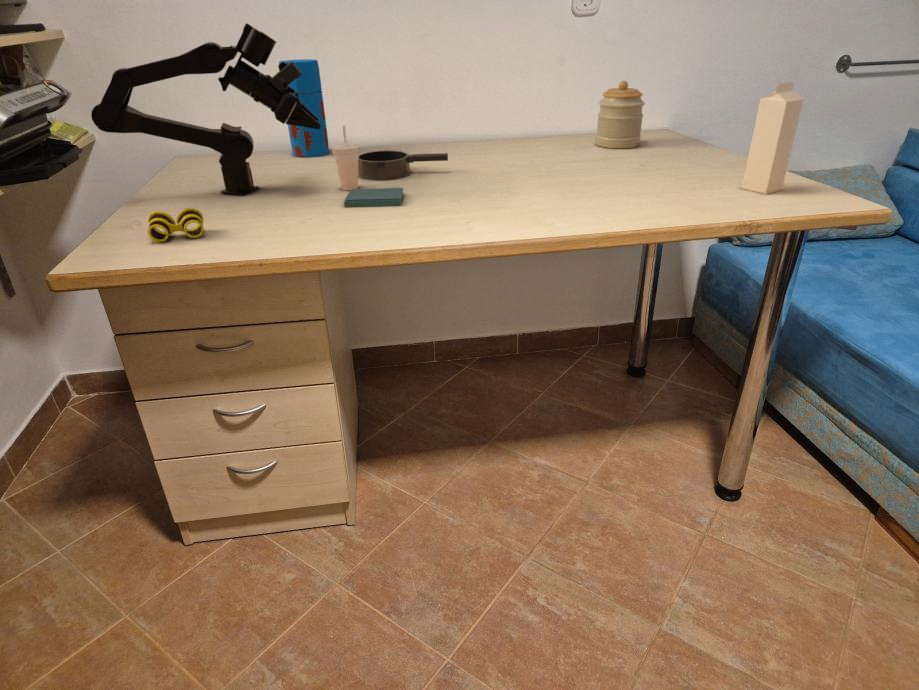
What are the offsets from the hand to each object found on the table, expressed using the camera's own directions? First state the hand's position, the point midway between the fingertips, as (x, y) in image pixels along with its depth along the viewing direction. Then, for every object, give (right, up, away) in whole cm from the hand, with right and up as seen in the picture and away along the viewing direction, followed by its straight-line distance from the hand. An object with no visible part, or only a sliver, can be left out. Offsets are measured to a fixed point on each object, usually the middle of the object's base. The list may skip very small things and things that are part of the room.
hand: (318, 124), depth 140 cm
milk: (+101, -17, -6) cm, 102 cm away
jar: (+80, +8, +40) cm, 90 cm away
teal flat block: (+14, -20, -7) cm, 25 cm away
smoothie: (+7, -15, +3) cm, 16 cm away
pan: (+14, -7, +14) cm, 21 cm away
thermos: (-11, +5, +39) cm, 41 cm away
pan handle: (+25, -5, +13) cm, 28 cm away
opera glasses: (-21, -31, -26) cm, 45 cm away
